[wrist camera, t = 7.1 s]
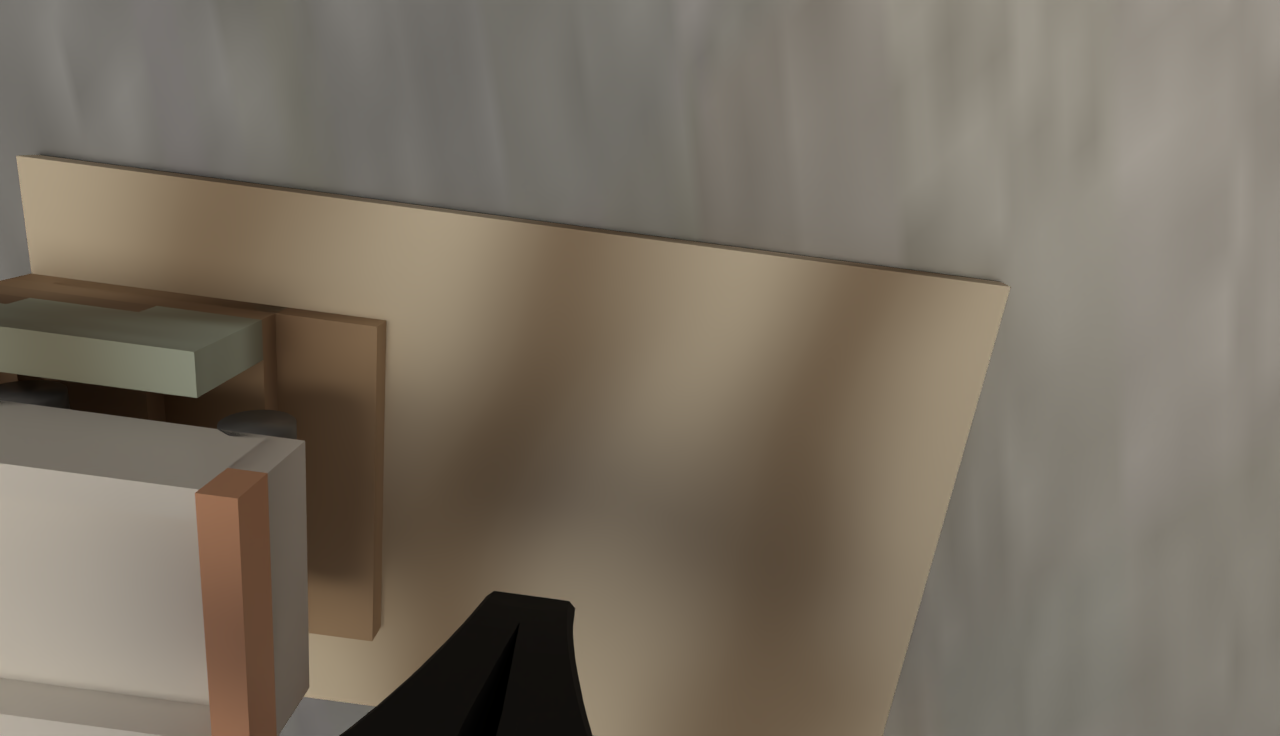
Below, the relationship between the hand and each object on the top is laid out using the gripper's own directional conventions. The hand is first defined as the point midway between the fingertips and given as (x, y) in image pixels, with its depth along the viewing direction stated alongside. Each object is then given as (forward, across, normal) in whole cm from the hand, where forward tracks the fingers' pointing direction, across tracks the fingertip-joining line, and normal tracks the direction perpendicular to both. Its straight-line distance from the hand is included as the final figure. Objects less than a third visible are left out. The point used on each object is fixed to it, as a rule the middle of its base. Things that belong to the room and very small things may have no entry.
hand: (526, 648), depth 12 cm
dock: (+5, +2, 0) cm, 5 cm away
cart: (+2, +7, 0) cm, 7 cm away
